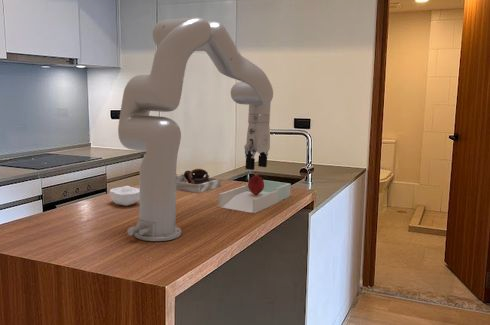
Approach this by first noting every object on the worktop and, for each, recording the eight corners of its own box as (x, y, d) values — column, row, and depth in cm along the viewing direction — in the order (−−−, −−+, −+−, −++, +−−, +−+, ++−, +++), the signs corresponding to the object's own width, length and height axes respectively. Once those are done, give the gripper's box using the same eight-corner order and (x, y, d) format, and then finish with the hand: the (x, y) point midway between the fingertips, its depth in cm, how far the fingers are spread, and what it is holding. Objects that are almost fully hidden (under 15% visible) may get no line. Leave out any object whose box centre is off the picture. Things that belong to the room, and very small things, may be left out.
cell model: (137, 199, 163) (137, 180, 162) (143, 207, 152) (143, 187, 151) (107, 201, 159) (107, 181, 158) (112, 209, 148) (112, 189, 147)
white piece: (254, 216, 150) (255, 199, 150) (218, 209, 157) (218, 193, 156) (277, 205, 166) (278, 190, 165) (243, 199, 173) (244, 185, 172)
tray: (276, 202, 166) (277, 188, 165) (244, 197, 172) (245, 184, 172) (290, 196, 177) (290, 183, 176) (260, 191, 183) (260, 179, 182)
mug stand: (198, 193, 177) (198, 185, 176) (158, 186, 186) (159, 179, 185) (221, 186, 192) (221, 179, 191) (183, 180, 200) (184, 173, 200)
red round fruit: (262, 197, 162) (263, 175, 161) (246, 196, 163) (247, 174, 162) (264, 194, 168) (265, 172, 166) (249, 193, 169) (250, 171, 167)
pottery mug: (213, 186, 194) (214, 171, 188) (201, 199, 187) (202, 184, 182) (189, 176, 197) (189, 161, 192) (176, 189, 191) (176, 173, 186)
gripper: (257, 120, 152) (254, 171, 154) (278, 120, 167) (276, 166, 169) (237, 119, 155) (235, 169, 158) (260, 118, 171) (257, 164, 173)
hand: (256, 168), depth 163 cm, fingers open, 9 cm apart
